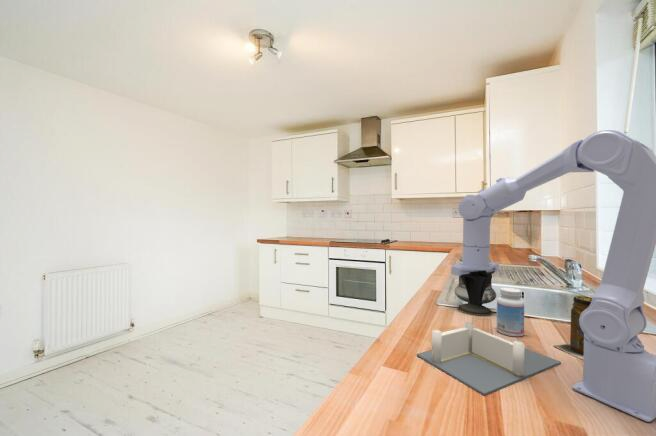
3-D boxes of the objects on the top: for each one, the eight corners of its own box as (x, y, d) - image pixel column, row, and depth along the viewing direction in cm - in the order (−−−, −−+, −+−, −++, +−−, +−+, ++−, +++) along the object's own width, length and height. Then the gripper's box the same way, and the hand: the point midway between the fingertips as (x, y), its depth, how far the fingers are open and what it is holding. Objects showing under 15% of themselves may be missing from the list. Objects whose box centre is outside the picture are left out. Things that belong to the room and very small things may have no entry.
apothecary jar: (468, 303, 102) (469, 251, 102) (503, 312, 92) (504, 255, 92) (446, 308, 96) (447, 253, 96) (482, 319, 85) (483, 258, 85)
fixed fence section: (468, 348, 65) (468, 321, 65) (475, 351, 64) (475, 324, 64) (429, 359, 60) (430, 330, 60) (436, 363, 58) (437, 333, 58)
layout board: (560, 363, 60) (561, 361, 60) (484, 395, 48) (484, 392, 48) (489, 335, 73) (489, 333, 73) (416, 355, 62) (416, 353, 62)
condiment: (617, 358, 63) (618, 302, 62) (587, 362, 61) (588, 304, 61) (581, 343, 70) (582, 293, 70) (552, 346, 68) (553, 295, 68)
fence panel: (470, 352, 62) (471, 326, 62) (476, 350, 63) (477, 325, 63) (520, 376, 53) (520, 345, 53) (526, 374, 54) (526, 344, 54)
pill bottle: (528, 338, 72) (529, 293, 72) (501, 336, 73) (502, 291, 73) (517, 329, 78) (518, 287, 78) (493, 327, 79) (493, 286, 79)
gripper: (480, 243, 76) (479, 295, 76) (441, 245, 70) (440, 302, 70) (507, 246, 70) (506, 302, 70) (467, 248, 63) (466, 310, 63)
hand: (475, 303), depth 69 cm, fingers closed
